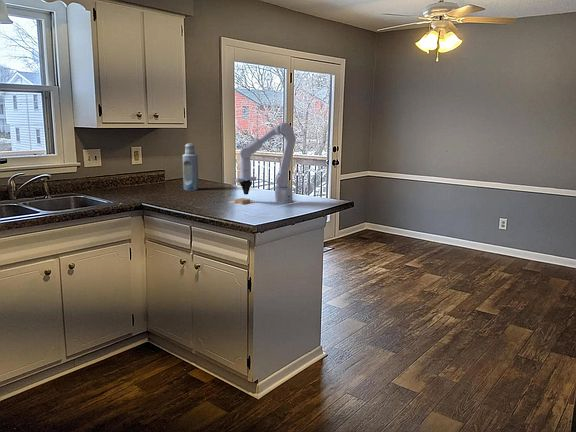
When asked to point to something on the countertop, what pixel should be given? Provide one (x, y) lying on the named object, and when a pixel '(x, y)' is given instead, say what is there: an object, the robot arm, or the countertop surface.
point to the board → (244, 203)
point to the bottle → (190, 168)
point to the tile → (242, 200)
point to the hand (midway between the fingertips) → (246, 194)
